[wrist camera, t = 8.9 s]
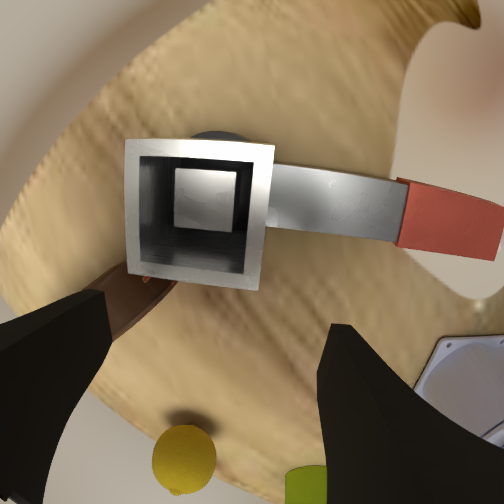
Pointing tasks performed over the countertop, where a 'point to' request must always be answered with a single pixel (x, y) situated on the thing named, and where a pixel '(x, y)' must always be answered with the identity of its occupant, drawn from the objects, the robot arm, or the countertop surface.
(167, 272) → the socket
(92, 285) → the tin
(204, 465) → the lemon
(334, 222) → the ratchet
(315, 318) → the countertop surface
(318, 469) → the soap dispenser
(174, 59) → the countertop surface
